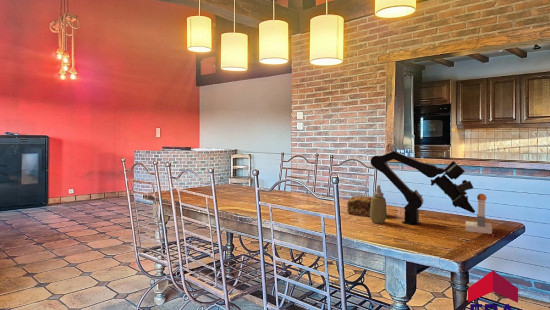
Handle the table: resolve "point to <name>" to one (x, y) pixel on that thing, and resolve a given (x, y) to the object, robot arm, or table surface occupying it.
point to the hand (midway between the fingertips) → (474, 212)
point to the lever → (481, 205)
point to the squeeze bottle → (378, 207)
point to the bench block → (479, 226)
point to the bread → (359, 205)
